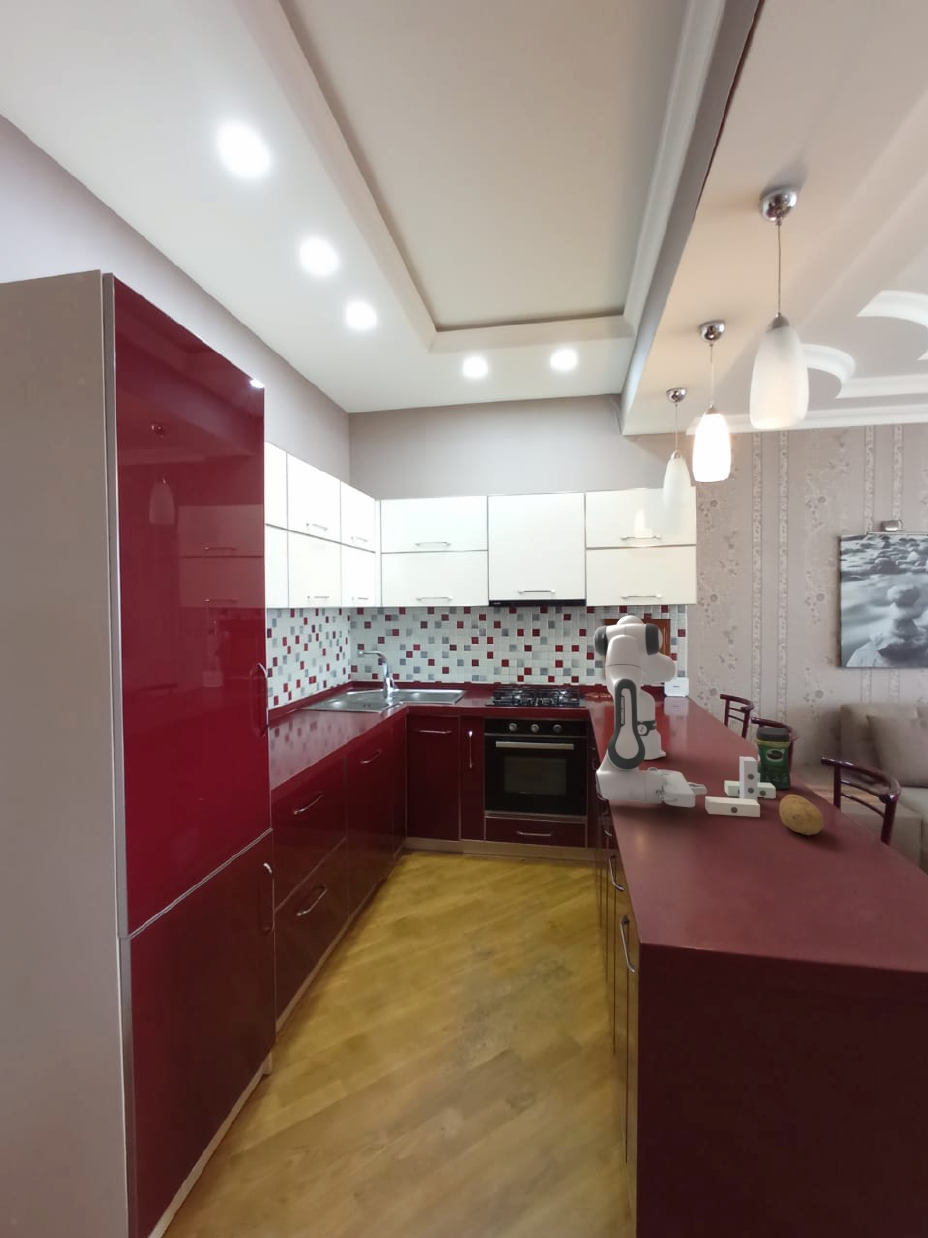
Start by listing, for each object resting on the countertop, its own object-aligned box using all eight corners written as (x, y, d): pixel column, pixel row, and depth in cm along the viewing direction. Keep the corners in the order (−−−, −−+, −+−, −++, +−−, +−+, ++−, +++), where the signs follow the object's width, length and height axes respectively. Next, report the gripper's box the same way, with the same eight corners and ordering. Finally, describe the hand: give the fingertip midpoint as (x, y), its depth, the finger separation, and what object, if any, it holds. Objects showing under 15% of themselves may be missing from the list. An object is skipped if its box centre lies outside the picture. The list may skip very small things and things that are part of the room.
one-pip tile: (705, 796, 155) (755, 799, 153) (705, 808, 156) (755, 811, 153) (708, 802, 151) (760, 805, 148) (708, 814, 151) (760, 818, 148)
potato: (789, 842, 133) (789, 809, 133) (771, 819, 146) (771, 790, 146) (834, 845, 130) (834, 812, 130) (812, 822, 144) (812, 792, 144)
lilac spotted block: (739, 800, 161) (739, 756, 161) (752, 800, 160) (752, 756, 160) (744, 805, 156) (744, 761, 156) (757, 806, 156) (757, 761, 155)
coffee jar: (787, 783, 175) (787, 726, 174) (793, 791, 167) (793, 731, 167) (753, 780, 178) (753, 724, 178) (757, 788, 171) (757, 729, 170)
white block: (724, 780, 169) (770, 783, 166) (724, 791, 169) (770, 794, 166) (728, 785, 164) (775, 788, 162) (728, 797, 164) (775, 800, 162)
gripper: (659, 788, 146) (714, 791, 143) (649, 765, 166) (697, 767, 163) (659, 811, 146) (714, 815, 143) (649, 786, 166) (697, 788, 163)
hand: (705, 789), depth 153 cm, fingers closed
